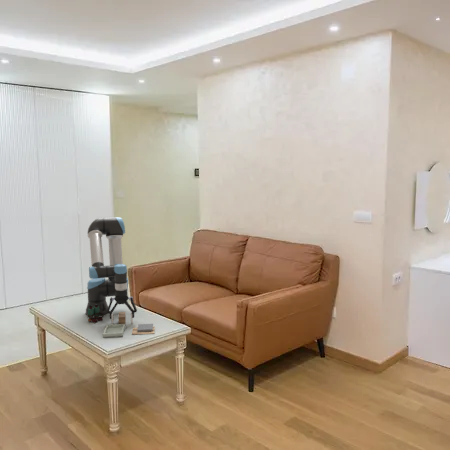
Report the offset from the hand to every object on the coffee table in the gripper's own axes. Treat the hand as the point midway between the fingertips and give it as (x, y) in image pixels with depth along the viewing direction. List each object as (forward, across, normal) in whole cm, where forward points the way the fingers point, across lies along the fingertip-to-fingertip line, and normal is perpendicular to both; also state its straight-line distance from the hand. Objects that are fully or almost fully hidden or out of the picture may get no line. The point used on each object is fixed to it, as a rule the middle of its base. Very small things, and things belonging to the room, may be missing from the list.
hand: (122, 323), depth 276 cm
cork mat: (0, +14, -15) cm, 20 cm away
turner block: (0, 0, 0) cm, 0 cm away
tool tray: (0, -3, -15) cm, 15 cm away
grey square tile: (-1, +15, -8) cm, 17 cm away
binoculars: (0, -17, +8) cm, 19 cm away
